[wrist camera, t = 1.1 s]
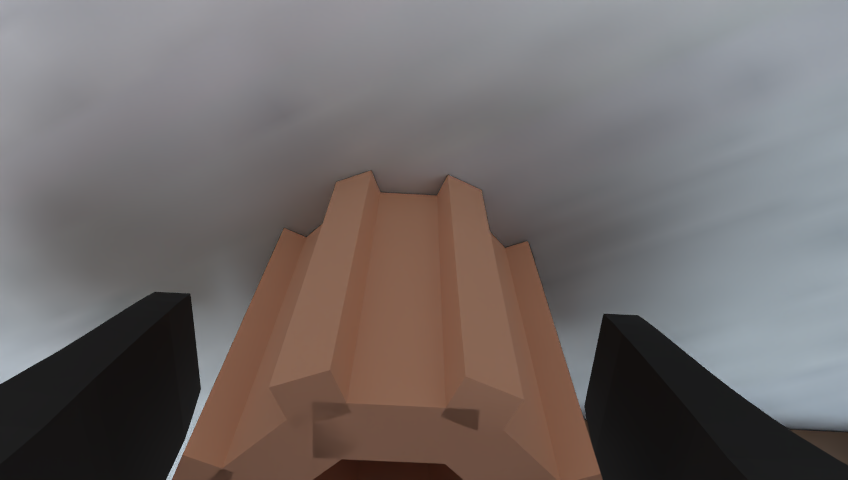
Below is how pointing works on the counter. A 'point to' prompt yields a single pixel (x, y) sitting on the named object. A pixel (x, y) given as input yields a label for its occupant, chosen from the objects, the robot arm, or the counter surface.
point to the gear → (394, 355)
